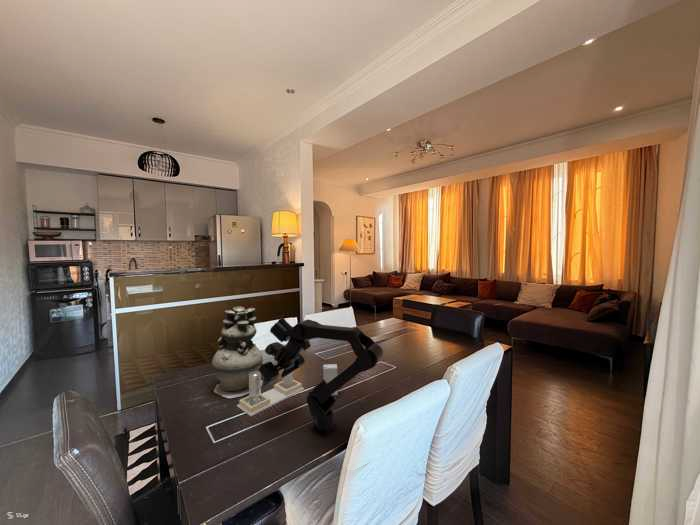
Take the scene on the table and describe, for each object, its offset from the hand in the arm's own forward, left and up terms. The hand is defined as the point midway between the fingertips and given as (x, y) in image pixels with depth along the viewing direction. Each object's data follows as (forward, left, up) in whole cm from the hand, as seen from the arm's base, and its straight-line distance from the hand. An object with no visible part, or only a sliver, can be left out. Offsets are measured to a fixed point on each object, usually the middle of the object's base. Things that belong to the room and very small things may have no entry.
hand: (273, 381), depth 105 cm
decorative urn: (+30, -2, -13) cm, 33 cm away
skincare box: (-6, -24, -13) cm, 28 cm away
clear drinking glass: (+10, +2, -12) cm, 15 cm away
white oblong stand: (+10, -6, -13) cm, 17 cm away
